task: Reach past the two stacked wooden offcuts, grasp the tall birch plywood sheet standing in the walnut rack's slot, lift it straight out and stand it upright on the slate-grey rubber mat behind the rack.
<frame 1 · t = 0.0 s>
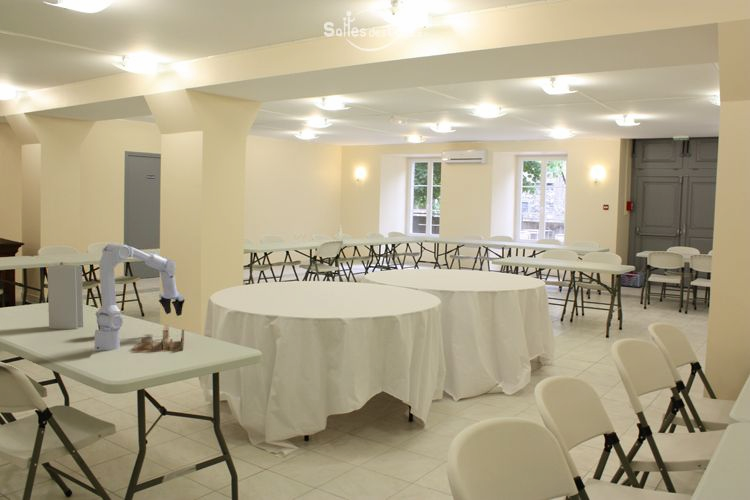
hand: (173, 314, 285), 11 cm above the table, tool pointing down, fingers open, 7 cm apart
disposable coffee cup: (107, 337, 286), on the table
tall grey upright box: (66, 327, 305), on the table
walnut rack: (158, 349, 263), on the table
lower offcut: (147, 347, 262), point 1 cm above the table, touching upper offcut, walnut rack
plywood sheet: (166, 346, 264), point 1 cm above the table, touching walnut rack
upper offcut: (147, 341, 261), point 3 cm above the table, touching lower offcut
slate mat: (163, 340, 280), on the table
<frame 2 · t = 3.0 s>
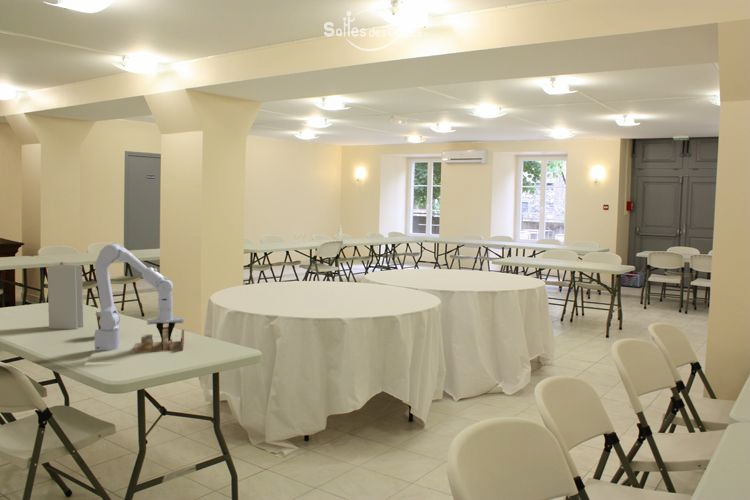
hand: (166, 340, 264), 3 cm above the table, tool pointing down, fingers closed on plywood sheet, 2 cm apart
plywood sheet: (166, 346, 264), point 1 cm above the table, touching gripper, walnut rack
everything else where it was.
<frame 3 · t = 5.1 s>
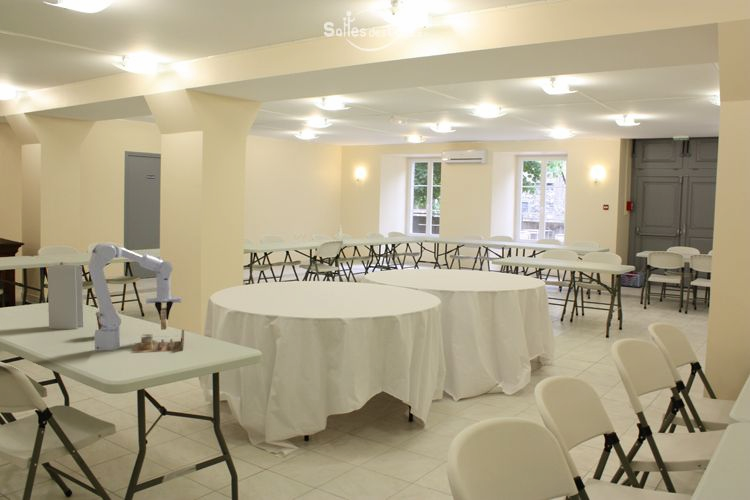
hand: (164, 319, 274), 10 cm above the table, tool pointing down, fingers closed on plywood sheet
plywood sheet: (164, 326, 274), point 7 cm above the table, touching gripper
everything else where it was.
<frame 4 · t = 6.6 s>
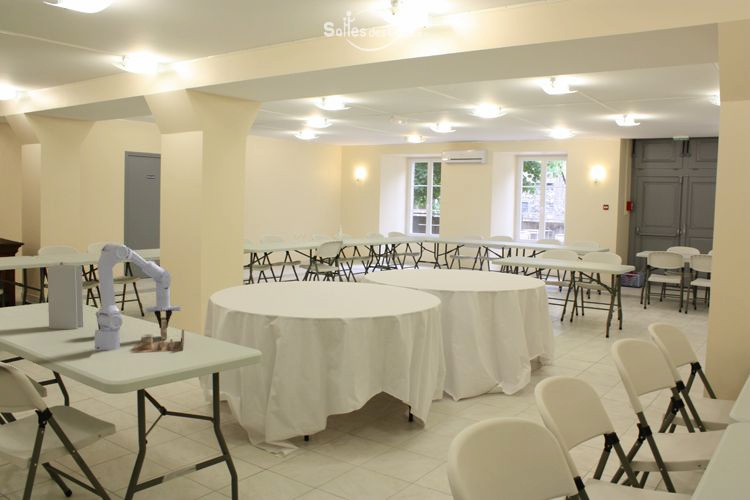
hand: (163, 327, 279), 6 cm above the table, tool pointing down, fingers closed on plywood sheet, 2 cm apart
plywood sheet: (163, 336, 279), point 2 cm above the table, touching gripper
everything else where it was.
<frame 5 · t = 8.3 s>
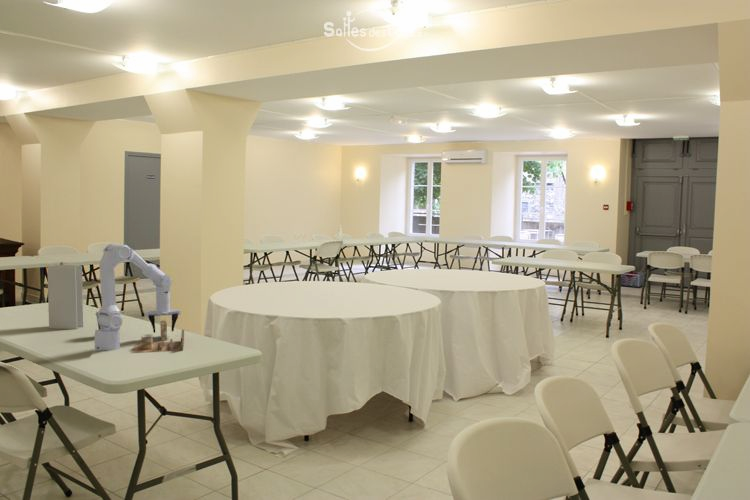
hand: (163, 331, 279), 4 cm above the table, tool pointing down, fingers open, 7 cm apart
plywood sheet: (163, 339, 280), on the table, touching slate mat
everything else where it was.
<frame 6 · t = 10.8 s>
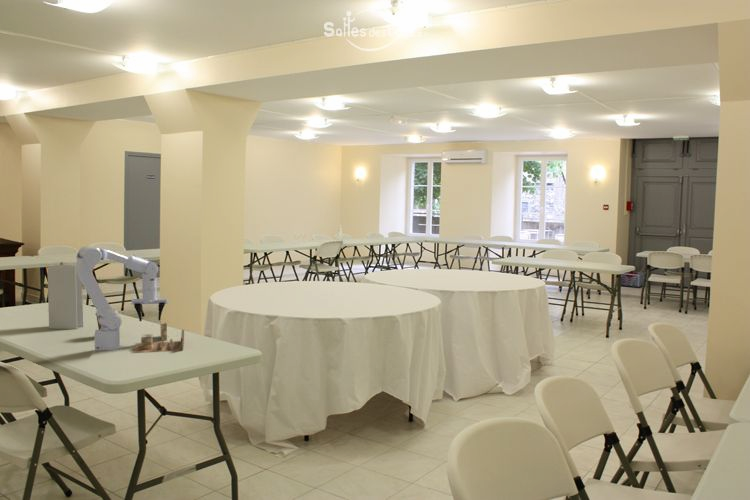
hand: (150, 320, 271), 10 cm above the table, tool pointing down, fingers open, 7 cm apart
nothing on the table moved.
at the end: plywood sheet inside the target area (0.1 cm from its centre), point 0.5 cm above the table; plywood sheet tilted 0°; upper offcut moved 0.0 cm from its start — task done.
